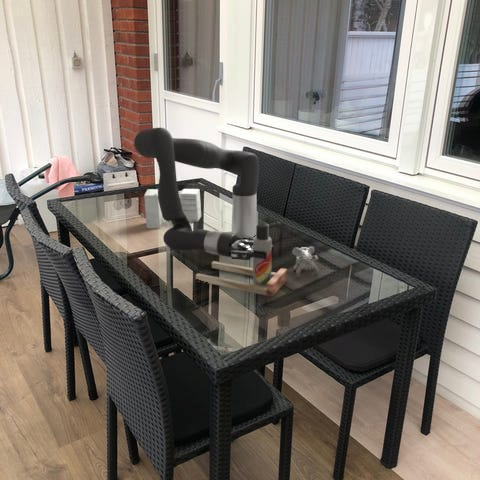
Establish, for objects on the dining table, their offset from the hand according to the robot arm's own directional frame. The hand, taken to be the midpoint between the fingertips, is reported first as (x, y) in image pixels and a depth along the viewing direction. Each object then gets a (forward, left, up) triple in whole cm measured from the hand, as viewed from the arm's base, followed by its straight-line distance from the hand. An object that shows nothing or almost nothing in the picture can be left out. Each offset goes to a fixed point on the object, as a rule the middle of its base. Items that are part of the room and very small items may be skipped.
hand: (269, 252), depth 155 cm
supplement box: (-45, -57, -12) cm, 73 cm away
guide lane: (0, -10, -12) cm, 15 cm away
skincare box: (-32, -67, -12) cm, 75 cm away
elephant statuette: (-16, +5, -12) cm, 21 cm away
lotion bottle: (0, -3, -11) cm, 12 cm away
